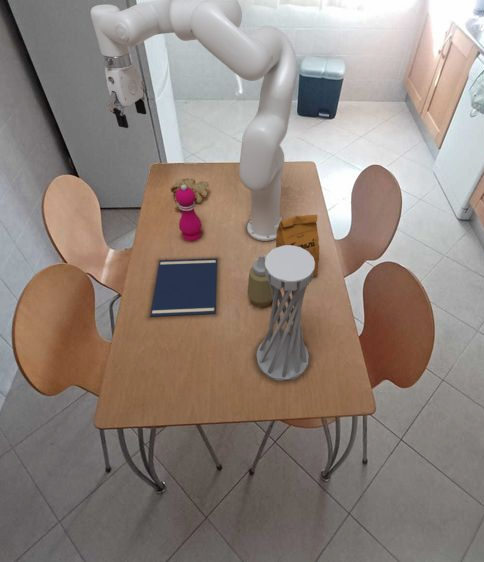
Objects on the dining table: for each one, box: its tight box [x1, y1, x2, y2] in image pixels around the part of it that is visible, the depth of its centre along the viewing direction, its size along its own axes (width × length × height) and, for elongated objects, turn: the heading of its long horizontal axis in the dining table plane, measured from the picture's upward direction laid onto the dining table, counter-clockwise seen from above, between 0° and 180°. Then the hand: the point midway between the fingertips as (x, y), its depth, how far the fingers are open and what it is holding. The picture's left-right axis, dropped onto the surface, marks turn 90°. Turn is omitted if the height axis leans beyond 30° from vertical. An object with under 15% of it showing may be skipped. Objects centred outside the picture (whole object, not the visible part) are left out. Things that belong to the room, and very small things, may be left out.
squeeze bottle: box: [246, 253, 273, 308], centre depth 107 cm, size 8×8×18 cm
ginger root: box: [169, 177, 210, 211], centre depth 143 cm, size 16×16×8 cm
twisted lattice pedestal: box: [255, 245, 315, 382], centre depth 88 cm, size 14×13×35 cm
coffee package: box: [275, 214, 320, 277], centre depth 113 cm, size 10×12×22 cm
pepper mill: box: [174, 184, 202, 242], centre depth 124 cm, size 7×7×20 cm
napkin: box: [149, 257, 218, 318], centre depth 117 cm, size 18×22×1 cm
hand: (133, 120), depth 121 cm, fingers open, 9 cm apart
